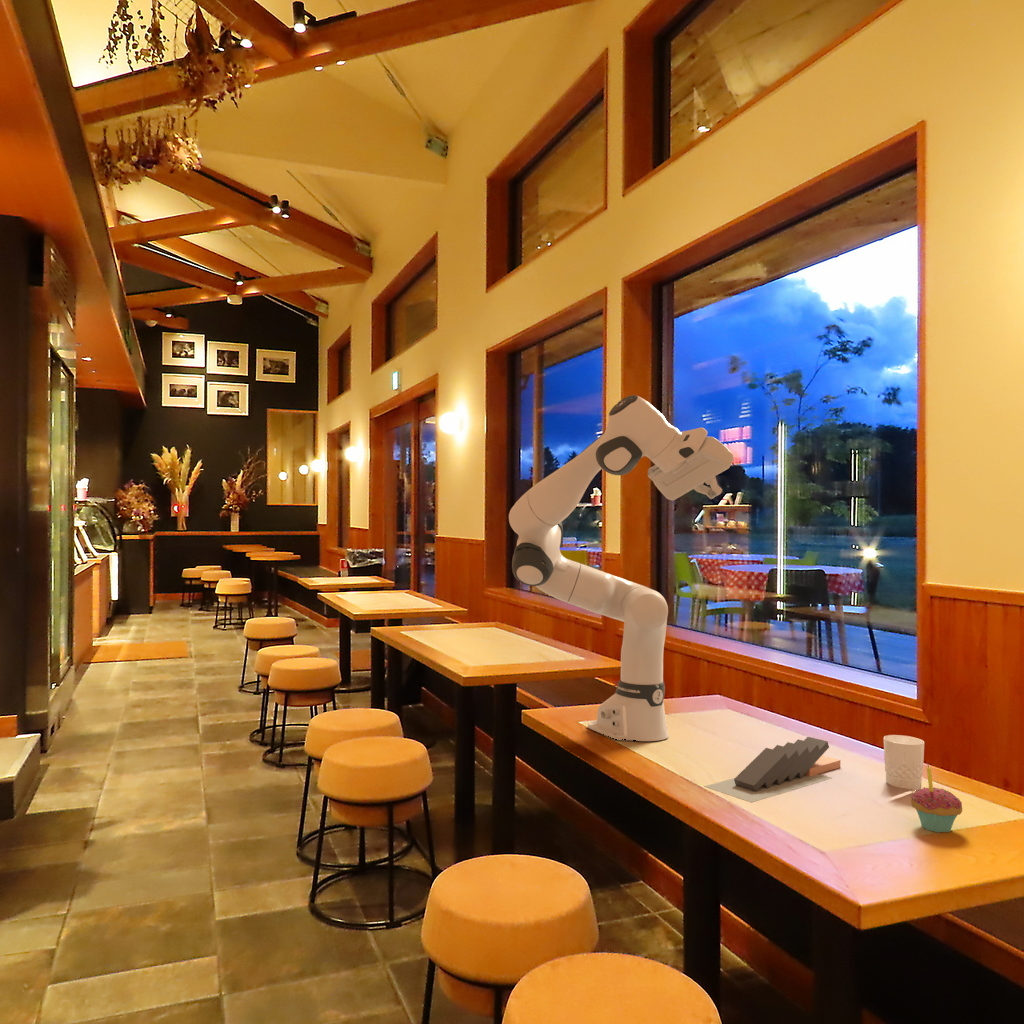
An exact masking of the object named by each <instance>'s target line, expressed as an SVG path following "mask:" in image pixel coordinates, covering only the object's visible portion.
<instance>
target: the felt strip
mask: <svg viewBox="0 0 1024 1024" xmlns="http://www.w3.org/2000/svg"><path fill="white" fill-rule="evenodd" d="M735 778H736V777H734V778H731V779H730V778H729V779H726V780H723V781H718V782H715V783H711V784H708V785H704V788H707V789H710V790H713V791H716V792H720V793H722V794H724V795H728V796H732V797H734V798H736V799H740V800H743V801H746V802H750V803H754V802H758V801H761V800H765V799H768V798H772V797H775V796H777V795H781V794H784V793H787V792H791V791H794V790H798V789H802V788H804V787H807V786H810V785H813V784H818V783H821V782H824V781H828V780H830V779H832V777H831V776H827V775H823V774H821V773H819V774H816V775H812V776H807V775H804V776H803V777H802V778H798V777H794V778H793V779H792V780H791V781H786V780H784V781H783V782H782V783H781V784H780V785H777V784H774V783H773V784H772V785H771V786H770V787H769V788H768V789H767V788H764V787H760V788H759V789H758V790H757V791H756V792H754V791H751V790H748V789H745V788H742V787H739V786H736V784H735V781H734V779H735Z"/></svg>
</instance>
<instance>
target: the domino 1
mask: <svg viewBox="0 0 1024 1024" xmlns="http://www.w3.org/2000/svg"><path fill="white" fill-rule="evenodd" d="M773 749H774V748H768V747H765V748H764V749H763V750H762V751H761V752H760V753H759V754H758V755H757V756H756V757H755V758H754V759H753V760H752V761H751V762H750V763H749V764H748V765H747V766H746V767H745V768H743V770H742V771H740V773H738V774H737V776H735V777H734V778H735V779H734V781H735V784H736V786H739V787H742V788H745V789H748V790H751V791H754V792H756V791H757V790H758V789H759V788H760V787H761V786H762V785H763V784H764V783H765V782H766V781H767V780H768V779H769V778H770V777H771V776H772V775H773V774H774V773H775V772H776V771H777V770H778V769H779V768H780V767H781V766H782V765H783V764H784V763H785V762H786V761H787V760H788V758H787V755H786V753H784V752H780V751H777V750H773Z"/></svg>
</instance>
